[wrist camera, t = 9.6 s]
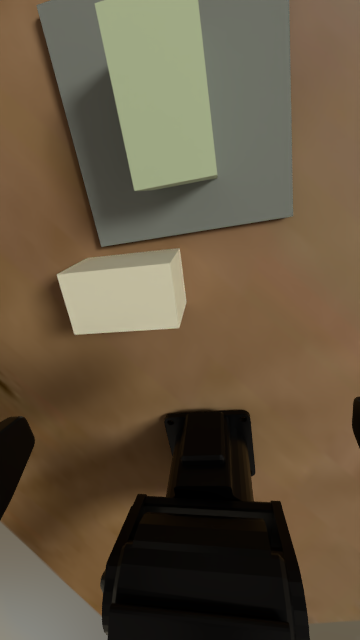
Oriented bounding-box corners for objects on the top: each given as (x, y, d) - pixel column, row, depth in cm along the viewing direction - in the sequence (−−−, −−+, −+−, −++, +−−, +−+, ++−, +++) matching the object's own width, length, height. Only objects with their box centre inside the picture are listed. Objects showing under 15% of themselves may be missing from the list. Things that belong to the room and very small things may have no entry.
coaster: (290, 215, 16) (292, 216, 16) (104, 245, 18) (101, 246, 18) (284, -66, 12) (287, -78, 12) (43, 12, 14) (36, 5, 13)
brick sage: (217, 177, 15) (217, 175, 12) (153, 190, 16) (134, 190, 12) (201, 31, 13) (195, -30, 10) (127, 51, 14) (94, 3, 10)
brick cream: (180, 247, 18) (170, 263, 14) (186, 301, 19) (179, 328, 16) (87, 257, 19) (56, 274, 15) (100, 308, 20) (74, 334, 17)
